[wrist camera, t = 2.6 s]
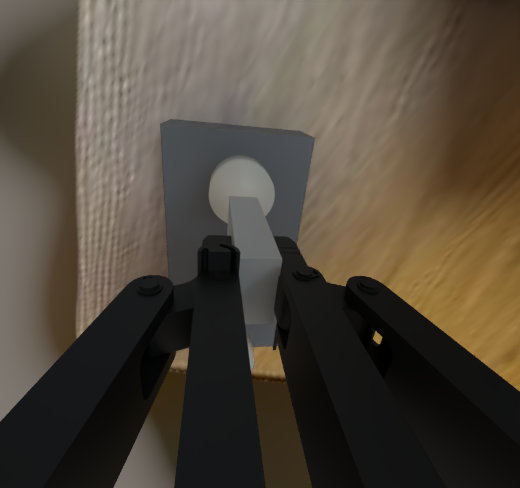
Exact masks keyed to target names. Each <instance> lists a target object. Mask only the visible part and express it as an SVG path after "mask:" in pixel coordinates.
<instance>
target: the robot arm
mask: <svg viewBox="0 0 520 488" xmlns="http://www.w3.org/2000/svg"><path fill="white" fill-rule="evenodd" d="M197 268H198V274H197V276H196V278H194V279H193V280H191V281H189V282H187V283H183V284H179V285H173V283H172V281H171V280H169V279H168V278H167V277H163V276H159V275H148V276H143V277H140V278H137V279H135V280H133V281H132V282H130V283H129V284H128V285H127V286H126V287H125V288H124V289H123V290H122V291H121V292H120V293H119V294H118V295H117V297H116V298H115V299H114V300H113V301H112V302H111V303H110V304H109V305H108V306H107V307H106V308H105V309H104V311H103V312H102V313H101V314H100V315H99V316H98V317H97V318H96V319H95V320H94V321H93V322H92V323H91V325H90V326H89V327H88V328H87V329H86V330H85V331H84V332H83V333H82V334H81V335H80V336H79V337H78V339H77V340H76V341H75V342H74V343H73V344H72V345H71V346H70V347H69V348H68V349H67V350H66V352H65V353H64V354H63V355H62V356H61V357H60V358H59V359H58V360H57V361H56V362H55V363H54V364H53V366H52V367H51V368H50V369H49V370H48V371H47V372H46V373H45V374H44V375H43V376H42V377H41V379H39V381H38V382H37V383H36V384H35V385H34V386H33V387H32V388H31V389H30V390H29V391H28V392H27V394H26V395H25V396H24V397H23V398H22V399H21V400H20V401H19V402H18V403H17V404H16V405H15V406H14V407H13V409H12V410H11V411H10V412H9V413H8V414H7V415H6V416H5V417H4V418H3V419H2V420H1V422H0V488H113V487H114V485H115V483H116V481H117V479H118V476H119V475H120V472H121V470H122V468H123V466H124V464H125V462H126V460H127V458H128V455H129V453H130V451H131V449H132V447H133V445H134V443H135V441H136V438H137V436H138V434H139V432H140V430H141V428H142V426H143V424H144V422H145V419H146V417H147V415H148V413H149V411H150V409H151V406H152V405H153V403H154V400H155V398H156V396H157V394H158V392H159V390H160V387H161V385H162V383H163V381H164V379H165V377H166V375H167V373H168V371H169V369H170V367H171V364H172V362H173V360H174V358H175V355H176V351H178V350H182V349H185V348H188V347H190V348H189V357H188V366H187V375H186V385H185V394H184V403H183V412H182V422H181V430H180V440H179V449H178V458H177V468H176V477H175V486H174V488H265V480H264V471H263V464H262V455H261V447H260V439H259V431H258V424H257V415H256V407H255V400H254V391H253V383H252V375H251V367H250V359H249V351H248V343H247V335H246V327H245V324H273V319H274V312H275V316H276V320H277V323H276V329H275V336H274V342H273V350H276V346H277V344H278V347H279V351H280V356H281V360H282V364H283V368H284V372H285V376H286V381H287V385H288V389H289V393H290V397H291V401H292V406H293V410H294V414H295V418H296V422H297V426H298V430H299V434H300V438H301V443H302V447H303V451H304V455H305V459H306V463H307V468H308V472H309V476H310V480H311V485H312V488H520V392H519V391H518V390H517V389H516V388H514V387H513V386H512V385H511V384H509V383H508V382H507V381H505V380H504V379H503V378H502V377H500V376H499V375H498V374H497V373H495V372H494V371H493V370H492V369H490V368H489V367H488V366H486V365H485V364H484V363H483V362H481V361H480V360H479V359H478V358H476V357H475V356H474V355H472V354H471V353H470V352H469V351H467V350H466V349H465V348H464V347H462V346H461V345H460V344H458V343H457V342H456V341H455V340H453V339H452V338H451V337H450V336H448V335H447V334H446V333H444V332H443V331H442V330H441V329H439V328H438V327H437V326H436V325H434V324H433V323H432V322H431V321H429V320H428V319H427V318H425V317H424V316H423V315H422V314H420V313H419V312H418V311H417V310H415V309H414V308H413V307H411V306H410V305H409V304H408V303H406V302H405V301H404V300H403V299H401V298H400V297H399V296H397V295H396V294H395V293H394V292H392V291H391V290H390V289H389V288H387V287H386V286H385V285H384V284H382V283H380V282H379V281H377V280H375V279H372V278H370V277H366V276H354V277H351V278H349V280H348V281H347V284H346V286H341V285H336V284H331V283H327V282H326V280H325V279H324V277H323V275H322V274H321V273H320V272H319V271H318V270H316V269H314V268H312V267H309V266H307V264H306V262H305V260H304V258H303V256H302V254H300V251H299V249H298V247H297V245H296V243H295V242H294V241H293V240H292V239H290V238H289V237H285V236H273V235H272V232H271V230H270V227H269V225H268V222H267V220H266V217H265V215H264V212H263V210H262V207H261V205H260V202H259V200H258V198H257V197H239V196H229V208H228V228H227V236H226V235H207V236H206V237H205V238H204V239H203V241H202V246H201V247H200V248H199V249H198V251H197ZM375 331H377V332H378V333H379V334H380V335H381V336H382V337H383V338H382V341H381V343H380V345H379V344H377V343H376V342H375V341H374V340H373V337H374V334H375Z"/></svg>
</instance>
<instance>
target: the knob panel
mask: <svg viewBox="0 0 520 488" xmlns="http://www.w3.org/2000/svg"><path fill="white" fill-rule="evenodd" d="M160 126H161V144H162V163H163V181H164V200H165V218H166V236H167V255H168V273H169V280H171V281H172V283H173V285H179V284H183V283H187V282H189V281H191V280H193V279H194V278H196V276H197V274H198V268H197V251H198V249H199V248H200V247H201V246H202V241H203V239H204V238H205V237H206V236H207V235H226V236H227V228H228V223H226V222H224V221H223V220H221V219H220V218H219V217H218V216H217V215H216V214H215V213H214V211H213V210H212V207H211V205H210V202H209V186H210V179H211V175H212V173H213V171H214V169H215V168H216V166H217V165H218V164H219V163H220V162H221V161H223V160H224V159H226V158H229V157H231V156H237V155H243V156H248V157H251V158H253V159H255V160H257V161H258V162H259V163H260V164H261V165H262V166H263V167H264V168H265V170H266V172H267V173H268V175H269V176H270V178H271V180H272V182H273V185H274V189H275V198H274V203H273V206H272V208H271V210H270V211H269V213H268V214H267V215H266V216H265V217H266V220H267V222H268V225H269V227H270V230H271V232H272V235H273V236H285V237H289V238H290V239H292V240H293V241H294V242H295V243H296V244H297V239H298V233H299V227H300V221H301V215H302V209H303V204H304V198H305V192H306V186H307V180H308V174H309V169H310V163H311V157H312V151H313V145H314V140H315V138H314V137H312V136H309V135H307V134H305V133H303V132H300V131H291V130H281V129H270V128H259V127H249V126H238V125H227V124H217V123H206V122H195V121H185V120H174V119H170V120H168V121H166V122H163V123H161V124H160ZM276 323H277V320H276V316H275V312H274V319H273V324H245V327H246V333H247V334H248V335H249V336H250V338H251V341H252V347H260V346H273V342H274V336H275V329H276ZM277 346H278V344H277ZM188 348H190V347H188Z"/></svg>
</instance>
